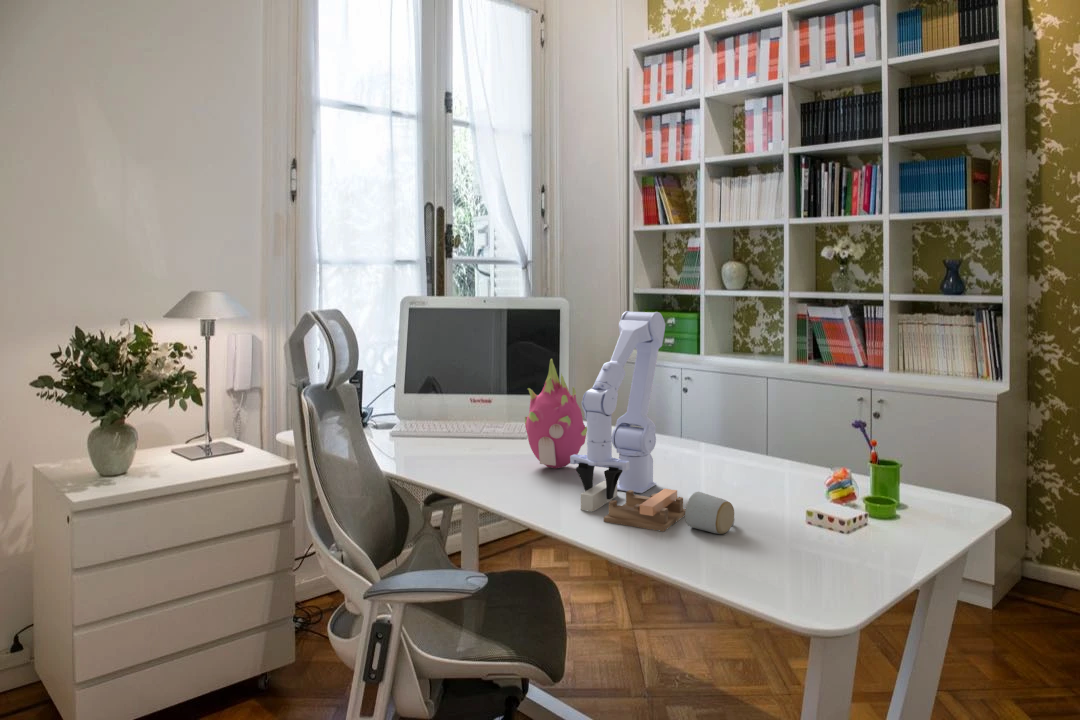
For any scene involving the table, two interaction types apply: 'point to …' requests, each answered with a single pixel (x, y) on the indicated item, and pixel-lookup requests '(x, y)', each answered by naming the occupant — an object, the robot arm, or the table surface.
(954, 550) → the table surface
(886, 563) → the table surface
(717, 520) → the grey cylinder
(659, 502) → the fired strip
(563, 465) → the pink dragon fruit
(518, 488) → the table surface
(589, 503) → the pale grey bar
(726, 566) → the table surface
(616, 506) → the slotted wooden stand
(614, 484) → the robot arm
